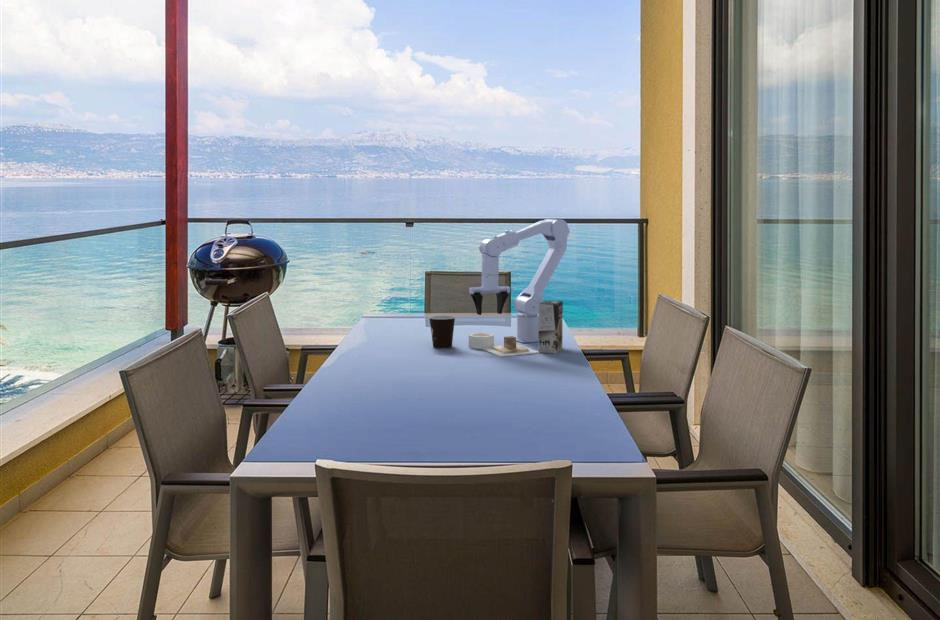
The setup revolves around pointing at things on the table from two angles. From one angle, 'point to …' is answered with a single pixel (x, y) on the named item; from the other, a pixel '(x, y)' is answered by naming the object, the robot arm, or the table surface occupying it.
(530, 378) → the table surface
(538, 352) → the mat
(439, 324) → the coffee mug
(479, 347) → the bowl
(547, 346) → the coffee box
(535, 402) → the table surface
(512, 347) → the cover
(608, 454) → the table surface
